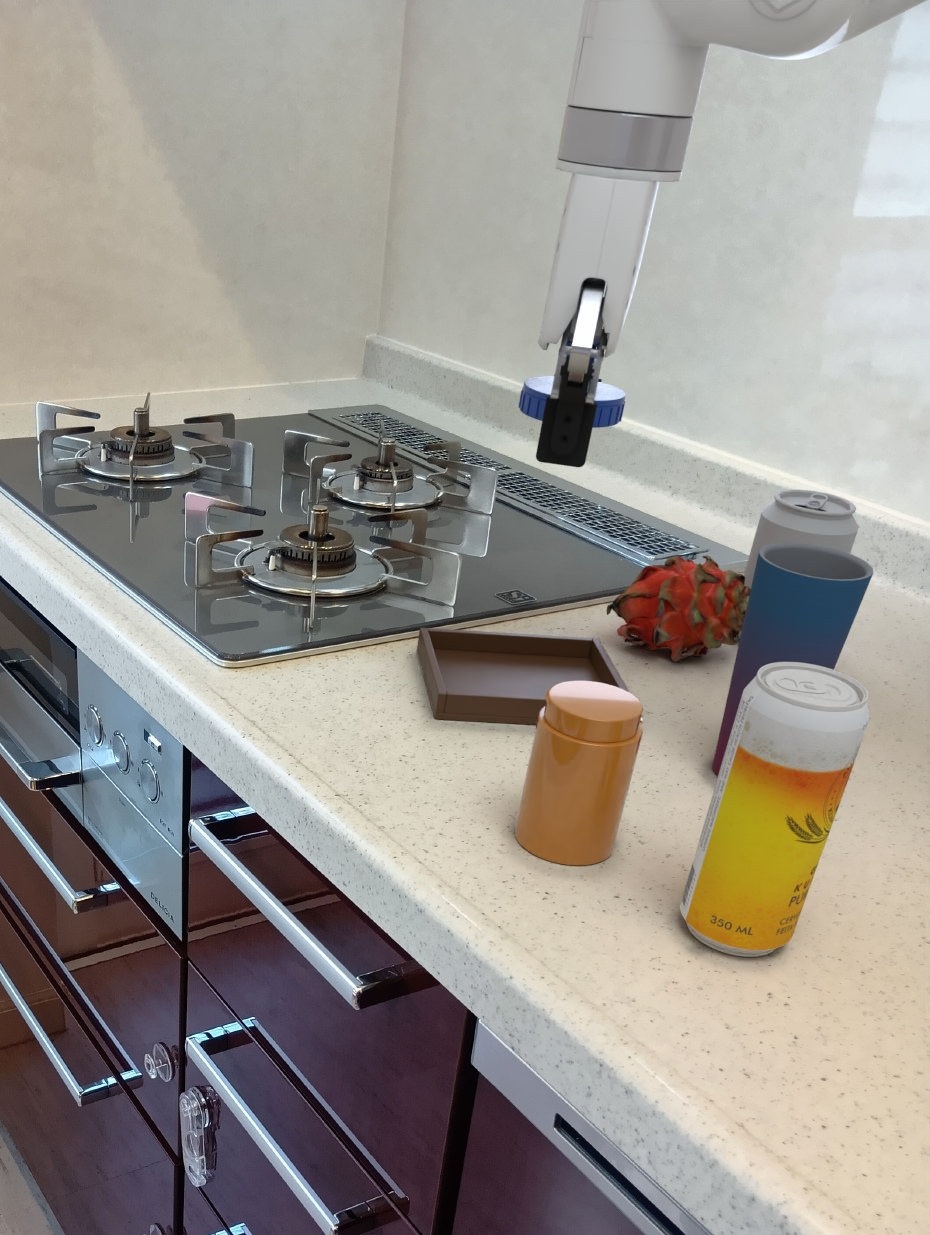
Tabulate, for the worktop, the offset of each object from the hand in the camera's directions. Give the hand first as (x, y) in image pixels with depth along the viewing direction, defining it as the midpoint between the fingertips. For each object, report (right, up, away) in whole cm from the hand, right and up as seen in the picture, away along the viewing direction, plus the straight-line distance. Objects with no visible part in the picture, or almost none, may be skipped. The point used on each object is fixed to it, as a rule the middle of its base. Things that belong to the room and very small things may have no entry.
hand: (563, 447), depth 88 cm
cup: (+13, -22, +1) cm, 26 cm away
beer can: (+6, -32, -15) cm, 36 cm away
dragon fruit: (+13, -11, +18) cm, 25 cm away
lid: (0, +3, -2) cm, 3 cm away
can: (+23, -9, +22) cm, 33 cm away
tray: (-1, -15, +10) cm, 18 cm away
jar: (-2, -27, -8) cm, 28 cm away
